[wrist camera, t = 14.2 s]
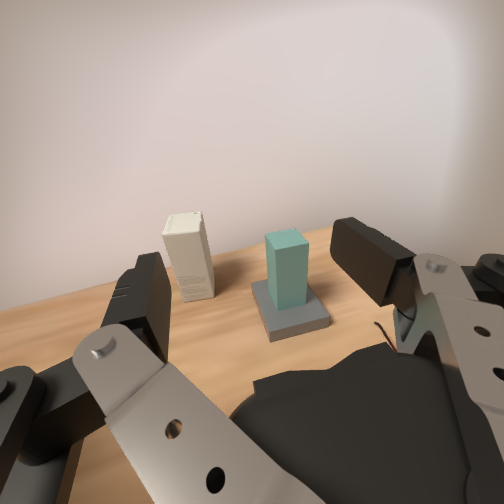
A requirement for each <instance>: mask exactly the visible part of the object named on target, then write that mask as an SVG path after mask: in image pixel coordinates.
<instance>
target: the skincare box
mask: <svg viewBox="0 0 504 504" xmlns="http://www.w3.org/2000/svg"><path fill="white" fill-rule="evenodd" d="M162 237H163V240H164V243H165V247H166V250H167V253H168V256H169V259H170V262H171V265H172V268H173V272H174V275H175V278H176V281H177V284H178V287H179V290H180V293H181V296H182V299H183V302H190V301H197V300H204V299H210V298H214V290H215V274H214V270H213V265H212V260H211V255H210V250H209V245H208V240H207V235H206V230H205V225H204V220H203V215H202V211H199V212H191V213H183V214H174V215H170V216H169V218H168V221H167V223H166V225H165V228H164V230H163V232H162Z"/></svg>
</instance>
